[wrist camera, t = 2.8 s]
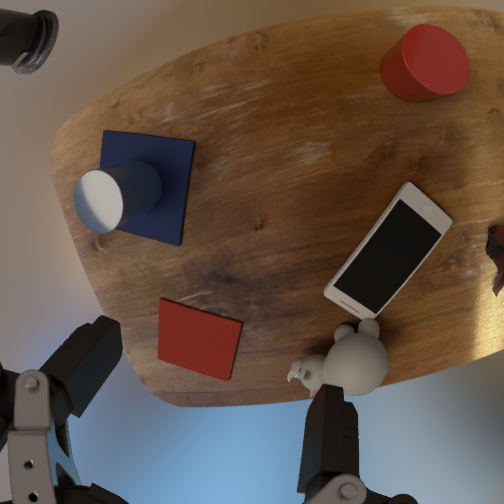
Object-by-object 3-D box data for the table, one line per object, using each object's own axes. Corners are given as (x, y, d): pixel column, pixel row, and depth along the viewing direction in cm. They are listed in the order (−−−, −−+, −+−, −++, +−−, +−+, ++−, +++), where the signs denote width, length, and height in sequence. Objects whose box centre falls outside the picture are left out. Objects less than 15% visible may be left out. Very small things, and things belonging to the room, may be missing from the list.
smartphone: (450, 219, 28) (454, 221, 27) (368, 320, 34) (369, 325, 34) (406, 179, 28) (408, 180, 27) (321, 290, 34) (322, 294, 33)
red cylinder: (375, 91, 25) (396, 77, 18) (384, 39, 23) (406, 12, 16) (429, 111, 25) (464, 106, 18) (438, 60, 22) (472, 43, 15)
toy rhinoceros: (284, 328, 37) (271, 376, 30) (379, 308, 33) (388, 356, 26) (300, 368, 40) (290, 416, 32) (387, 352, 35) (393, 401, 28)
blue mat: (98, 223, 36) (96, 224, 36) (105, 130, 32) (103, 130, 31) (180, 245, 35) (179, 246, 35) (195, 141, 31) (193, 141, 30)
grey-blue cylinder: (115, 206, 35) (73, 226, 27) (119, 156, 32) (75, 165, 25) (158, 217, 34) (122, 240, 27) (165, 164, 32) (126, 174, 24)
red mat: (159, 357, 43) (158, 358, 43) (161, 297, 39) (159, 299, 38) (229, 379, 42) (228, 381, 42) (242, 321, 38) (241, 323, 37)
